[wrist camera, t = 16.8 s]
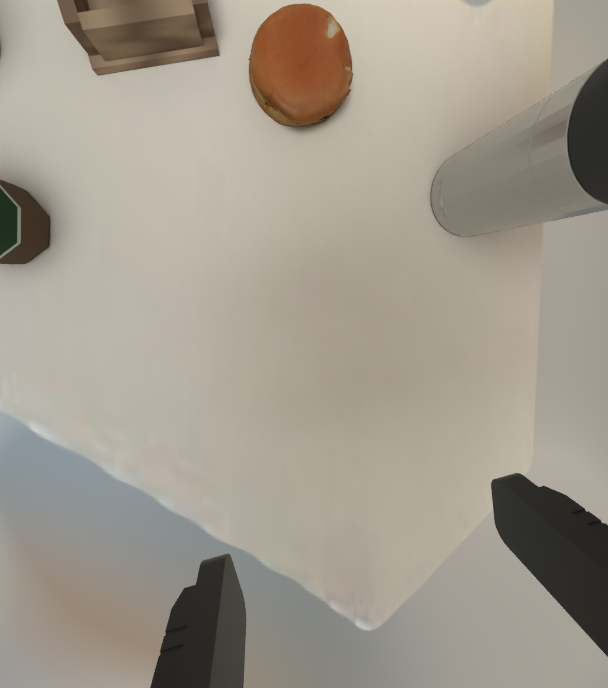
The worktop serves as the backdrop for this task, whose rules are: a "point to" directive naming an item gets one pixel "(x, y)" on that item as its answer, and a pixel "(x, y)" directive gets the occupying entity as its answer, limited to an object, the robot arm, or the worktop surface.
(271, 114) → the burger
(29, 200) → the beer bottle
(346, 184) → the worktop surface
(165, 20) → the walnut stand
